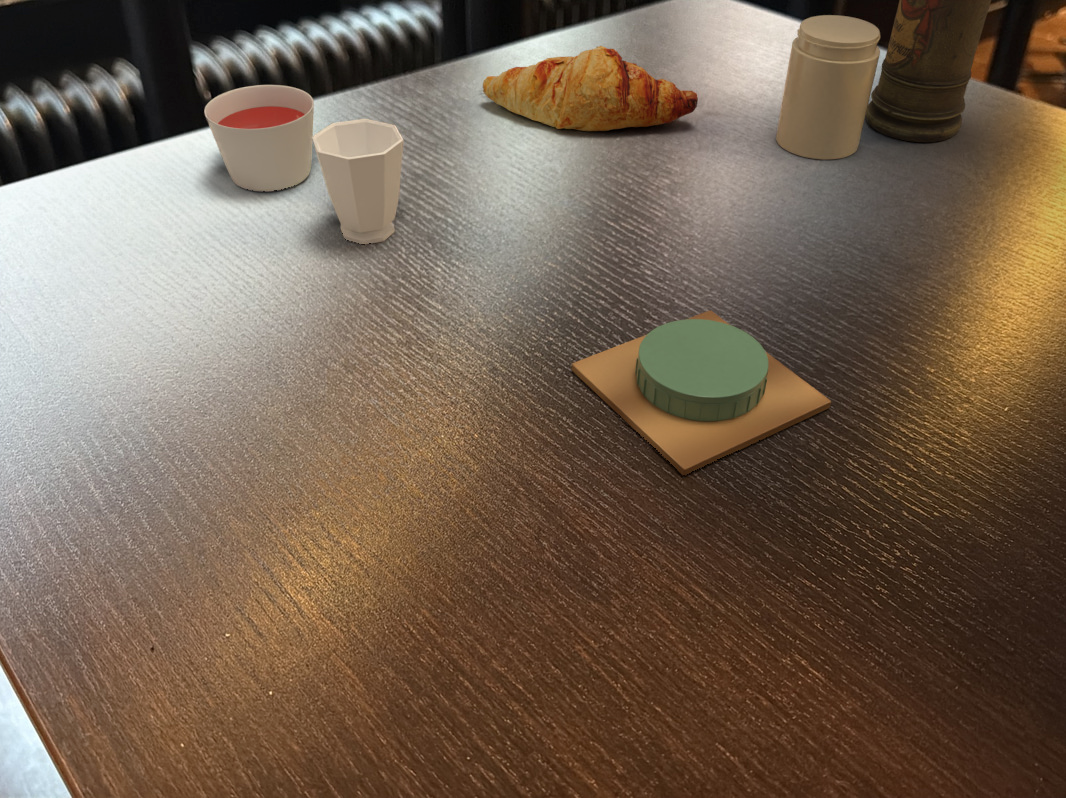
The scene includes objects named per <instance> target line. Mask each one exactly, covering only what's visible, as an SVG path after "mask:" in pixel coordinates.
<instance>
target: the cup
mask: <svg viewBox="0 0 1066 798" xmlns="http://www.w3.org/2000/svg"><path fill="white" fill-rule="evenodd" d="M312 144H313V147H314V150H315V153H316V156H317V159H318V163H319V166H320V170H321V173H322V176H323V181H324V183H325V187H326V190H327V193H328V197H329V198H330V201H331V204H332V206H333V209H334V211H335V213H336V216H337V219H338V221H339V223H340V226H339V227H340V231H341V234H342V233H343V234H342V237H343V239H344V238H345V239H346V240H345V239H344V240H345V241H347V240H349V241H348V242H351V241H353V242H352V243H354V242H357V243H356V244H358V243H359V244H358V245H361V244H365V245H370V244H369V243H371V244H375V243H376V244H377V243H381V242H382V243H383V242H385V241H386V240H387V239H388V238H389V237H391V236H392V235H393V234H394V233H395V232H396V230H395V225H394V223H393V221H394V220H395V219H396V214H397V211H398V210H397V209H398V205H399V200H400V191H401V179H402V177H401V175H402V166H403V165H402V164H403V152H404V138H403V136H402V135H401V132H400V131H399V129H398V127H397V126H396V124H391V123H387V122H382V121H377V120H374V119H369V118H360V119H353V120H345V121H338V122H332V123H330V124H329V125H327V126H326V127H324V128H322V129H321V130H320V131H318V132H317V133H314V134H313V136H312Z"/></svg>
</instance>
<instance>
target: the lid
mask: <svg viewBox="0 0 1066 798" xmlns="http://www.w3.org/2000/svg"><path fill="white" fill-rule="evenodd" d="M728 324H729V323H728ZM728 324H725V323H721V322H717V321H712V320H704V319H688V318H686V319H679V320H673V321H670V322H667V323H664V324H661V325H659V326H656V327H655V328H653V329H652V330H651V331H649V332H648V333H647V334H645V335H646V336H645V337H644V339H643V340H642V342H641V344H640V347H639V352H638V358H637V360H636V371H635V374H636V377H637V385H638V386H639V388H640V390H641V392H642V393H643V395H644V396H645V397H646V398H647V399H648V400H649V401H650V402H651V403H652V404H653V405H655V406H656V407H658V408H659V409H661V410H663V411H665V412H667V413H669V414H672V415H674V416H677V417H681V418H684V419H689V420H695V421H708V422H710V421H722V420H728V419H732V418H735V417H738V416H741V415H743V414H745V413H747V412H749V411H750V410H751V409H753V408H754V407H755V406H756V405H757V404H759V401H760V400H761V397H762V395H764V393H765V388H766V383H767V374H768V367H769V362H768V357H767V354H766V352H767V351H766V350H765V349H764V347H763V345H761V343H760V342H759V340H757V339H755V338H754V336H752V335H751V334H749V333H748V332H746V331H745V330H743V329H740V328H738V327H736V326H734V325H732V324H730V325H728Z"/></svg>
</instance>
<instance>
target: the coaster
mask: <svg viewBox="0 0 1066 798" xmlns="http://www.w3.org/2000/svg"><path fill="white" fill-rule="evenodd" d="M687 319H704V320H712V321H717V322H721V323H725V324H728V325H731V324H730V323H729V322H727V321H725V320H724V319H723V318H722V317H721V316H719V315H718V314H716V313H715V312H714V311H712V310H710V309H709V310H706V311H704V312H701V313H699V314H696V315H694V316H691V317H689V318H687ZM646 335H647V334H644V335H642V336H639V337H637V338H635V339H631V340H629V341H627V342H624V343H621V344H619V345H616V346H614V347H611V348H608V349H606V350H603V351H601V352H598V353H596V354H593V355H590V356H587V357H585V358H582V359H580V360H577V361H575V362H572V363H571V368H570V369H571V371H572V373H574V374H575V375H576V376H577V377H578V378H579V379H580V380H581V381H582V382H583V383H584V384H585V385H586V386H588V387H589V389H590V390H592V391H593V392H594V393H595V395H597V396H598V398H600V399H601V400H602V401H603V402H605V404H606V405H608V407H610V408H611V409H612V410H613V411H614V412H615V414H617V415H618V416H619V415H620V416H621V417H620V416H619V417H620V418H621V419H622V420H623V421H625V423H626V424H628V425H629V426H630V428H632V429H633V430H634V431H635V430H636V431H635V432H636V433H637V432H638V433H639V434H640V435H639V434H638V433H637V434H638V435H639V436H640V437H642V438H643V437H644V438H643V440H645V441H646V440H647V441H646V442H647V443H648V442H649V443H648V445H650V444H651V445H652V446H653V447H654V448H656V450H658V452H660V453H659V455H661V454H662V455H661V457H663V456H664V457H663V458H664V459H665V458H666V459H665V461H667V460H668V461H669V462H670V463H669V462H668V461H667V462H668V463H669V464H670V465H671V464H672V465H673V466H674V467H675V468H676V469H677V470H676V469H675V468H674V467H673V466H672V465H671V466H672V467H673V468H674V469H675V470H676V471H677V472H678V473H679V474H680V475H682V476H683V475H685V476H687V474H688V475H690V474H692V473H693V472H692V471H694V472H696V471H698V470H700V469H702V467H703V468H705V467H706V466H705V465H707V464H709V465H711V464H713V463H715V462H717V461H718V460H717V459H720V458H722V457H724V456H726V455H728V456H730V455H732V454H734V453H733V452H735V451H737V452H739V451H741V450H743V449H745V448H748V447H749V446H752V445H754V444H756V443H758V442H760V441H762V440H764V439H767V438H769V437H771V436H773V435H775V434H777V433H780V432H781V431H784V430H786V429H788V428H790V427H792V426H795V425H796V424H799V423H801V422H803V421H805V420H807V419H809V418H811V417H814V416H815V415H817V414H820V413H822V412H824V411H826V410H828V409H830V407H831V405H832V401H831V399H829V398H828V397H826V396H825V395H824V394H823V393H821V392H820V391H819V390H817V389H816V388H815V387H813V386H812V385H810V384H809V383H808V382H807V381H805V380H804V379H802V378H801V377H800V376H799V375H797V374H796V373H795V372H794V371H792V370H791V369H790V368H788V367H787V366H785V365H784V364H782V362H780V361H779V360H777V359H776V358H775V357H773V356H772V355H771V354H770V353H769V352H767V351H765V352H766V354H767V357H768V362H769V367H768V374H767V383H766V388H765V393H764V395H762V397H761V400H760V401H759V404H757V405H756V406H755V407H754V408H753V409H751V410H750V411H749V412H747V413H745V414H743V415H741V416H738V417H735V418H732V419H728V420H722V421H710V422H708V421H695V420H689V419H684V418H681V417H677V416H674V415H672V414H669V413H667V412H665V411H663V410H661V409H659V408H658V407H656V406H655V405H653V404H652V403H651V402H650V401H649V400H648V399H647V398H646V397H645V396H644V395H643V393H642V392H641V390H640V388H639V386H638V385H637V377H636V374H635V371H636V360H637V358H638V352H639V347H640V344H641V342H642V340H643V339H644V337H645V336H646ZM766 437H767V438H766ZM759 440H760V441H759ZM751 444H752V445H751ZM651 445H650V446H651ZM652 446H651V447H652ZM653 447H652V448H653ZM654 448H653V449H654ZM656 450H655V451H656ZM738 450H739V451H738ZM658 452H657V453H658ZM731 453H732V454H731ZM735 453H736V452H735ZM729 454H730V455H729ZM726 457H727V456H726ZM724 458H725V457H724ZM722 459H723V458H722ZM720 460H721V459H720ZM714 461H715V462H714ZM712 462H713V463H712ZM710 463H711V464H710ZM704 466H705V467H704ZM707 466H708V465H707ZM700 467H701V468H700ZM699 468H700V469H699ZM697 469H698V470H697ZM695 470H696V471H695ZM691 472H692V473H691ZM689 473H690V474H689Z"/></svg>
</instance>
